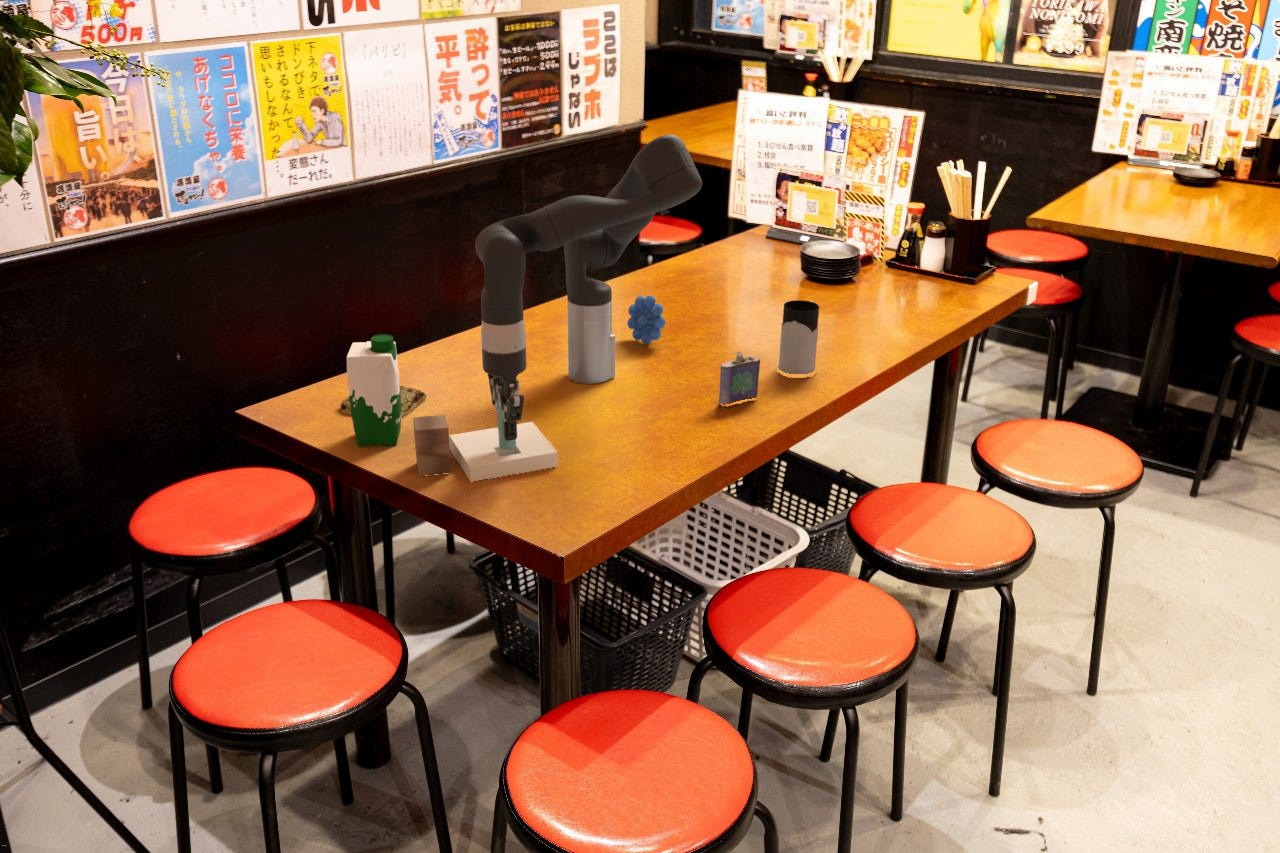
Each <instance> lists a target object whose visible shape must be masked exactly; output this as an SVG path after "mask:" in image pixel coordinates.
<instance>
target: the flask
mask: <svg viewBox="0 0 1280 853" xmlns="http://www.w3.org/2000/svg"><path fill="white" fill-rule="evenodd" d="M734 355H736V357H735V359H734V360H731V361H726V362H724V363H721V364H720V375H719V395H718V405H719V404H723V405H726V404H731V403H733V402H736V401H740V400H745V399H752V398H756V397H757V398H758V390H759V388H758V387H759V375H760V367H761V366H760V365H761V359H760V358H759V357H756V356H751V355H750V356H746V357H744V355H743V352H741V351H736V352H735V353H734Z"/></svg>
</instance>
